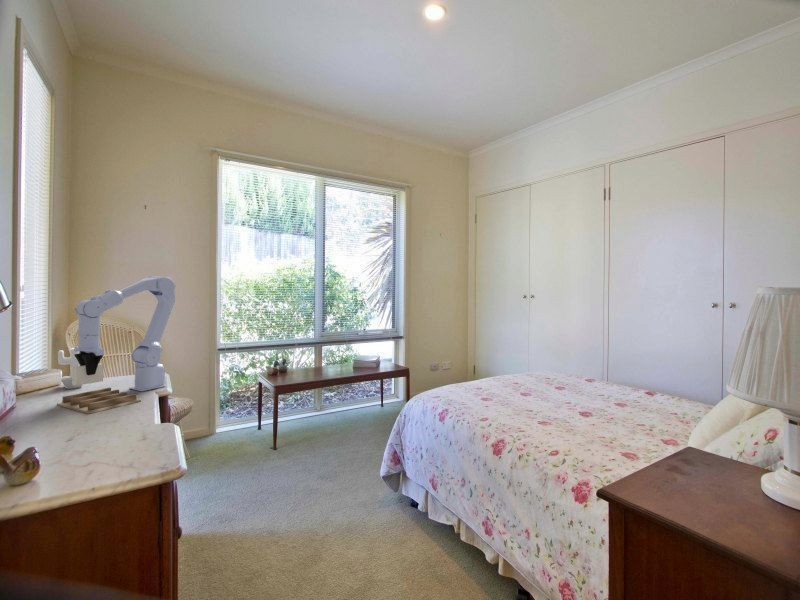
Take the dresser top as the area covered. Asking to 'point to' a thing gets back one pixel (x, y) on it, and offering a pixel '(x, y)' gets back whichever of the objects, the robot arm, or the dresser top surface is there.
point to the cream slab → (82, 378)
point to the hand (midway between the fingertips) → (88, 374)
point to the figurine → (73, 363)
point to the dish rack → (97, 400)
